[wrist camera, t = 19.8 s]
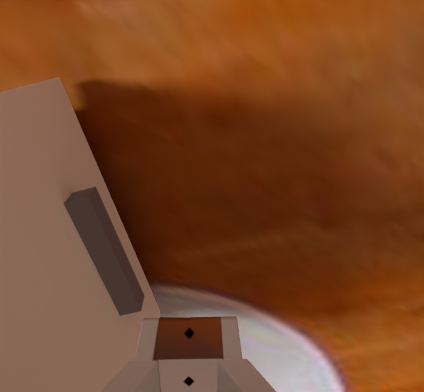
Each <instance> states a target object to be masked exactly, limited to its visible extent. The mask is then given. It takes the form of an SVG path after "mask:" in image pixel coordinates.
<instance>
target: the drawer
mask: <svg viewBox="0 0 424 392" xmlns="http://www.w3.org/2000/svg"><path fill="white" fill-rule="evenodd" d="M160 313H161V311H160V309H159V307H158V304H157V302H156V300H155V297H154V295H153V293H152V291H151V288H150V286H149V284H148V281H147V279H146V277H145V274H144V272H143V270H142V267H141V265H140V263H139V260H138V258H137V256H136V253H135V251H134V249H133V247H132V244H131V242H130V240H129V237H128V235H127V233H126V230H125V228H124V226H123V223H122V221H121V219H120V216H119V214H118V212H117V209H116V207H115V205H114V203H113V200H112V198H111V196H110V193H109V191H108V189H107V186H106V184H105V182H104V179H103V177H102V175H101V172H100V170H99V168H98V165H97V163H96V161H95V158H94V156H93V154H92V152H91V149H90V147H89V145H88V142H87V140H86V138H85V135H84V133H83V131H82V128H81V126H80V124H79V121H78V119H77V117H76V114H75V112H74V110H73V108H72V105H71V103H70V101H69V98H68V96H67V94H66V91H65V89H64V87H63V84H62V82H61V80H60V77H57V78H53V79H49V80H45V81H41V82H37V83H34V84H30V85H26V86H22V87H18V88H14V89H10V90H6V91H3V92H0V392H100V391H101V390H102V389H103V388H104V387H105V386H106V385H107V384H108V383H109V382H110V380H111V379H112V378H113V377H114V376H115V375H116V374H117V373H118V372H119V371H120V370H121V369H122V368H123V367H124V366H125V365H126V364H127V363H128V362H129V361H134V358H135V353H136V348H137V343H138V338H139V334H140V329H141V324H142V321H143V319H144V318H160Z"/></svg>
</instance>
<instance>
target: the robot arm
mask: <svg viewBox="0 0 424 392" xmlns="http://www.w3.org/2000/svg"><path fill="white" fill-rule="evenodd" d="M100 392H276V391H275V390H274V389H273V388H272V387H271V385H270V384H269V383H268V382H267V381H266V380H265V379H264V378H263V376H262V375H261V374H260V373H259V372H258V371H257V370H256V369H255V367H254V366H253V365H252V364H251V363H250V362H249V361H248V360H247V359H242V353H241V345H240V338H239V330H238V323H237V318H236V316H228V317H190V318H171V317H160V318H144V319H143V321H142V324H141V329H140V334H139V338H138V343H137V348H136V353H135V358H134V361H129V362H128V363H127V364H126V365H125V366H124V367H123V368H122V369H121V370H120V371H119V372H118V373H117V374H116V375H115V376H114V377H113V378H112V379H111V380H110V382H109V383H108V384H107V385H106V386H105V387H104V388H103V389H102V390H101V391H100Z"/></svg>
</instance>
